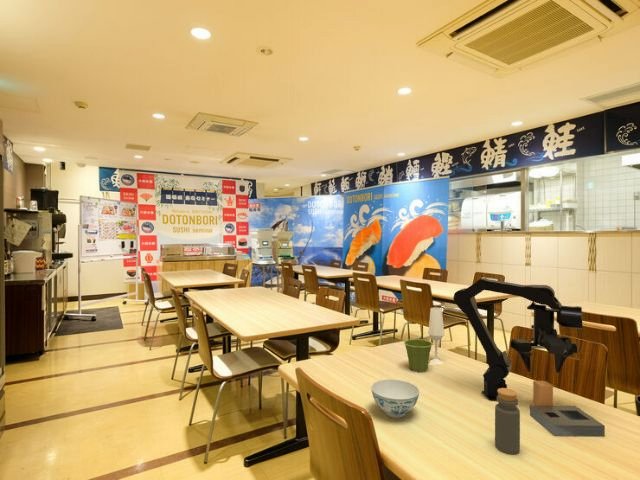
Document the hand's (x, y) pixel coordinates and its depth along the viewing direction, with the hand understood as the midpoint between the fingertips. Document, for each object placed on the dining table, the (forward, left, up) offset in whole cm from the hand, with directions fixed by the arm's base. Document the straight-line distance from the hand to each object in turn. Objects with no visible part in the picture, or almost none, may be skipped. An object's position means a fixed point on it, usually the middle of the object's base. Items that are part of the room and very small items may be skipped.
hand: (543, 371), depth 118 cm
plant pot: (-32, +34, -12) cm, 48 cm away
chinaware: (-49, -4, -12) cm, 50 cm away
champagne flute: (-22, +42, -12) cm, 49 cm away
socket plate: (0, -11, -12) cm, 16 cm away
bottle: (-23, -23, -12) cm, 34 cm away
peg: (0, 0, -12) cm, 12 cm away
